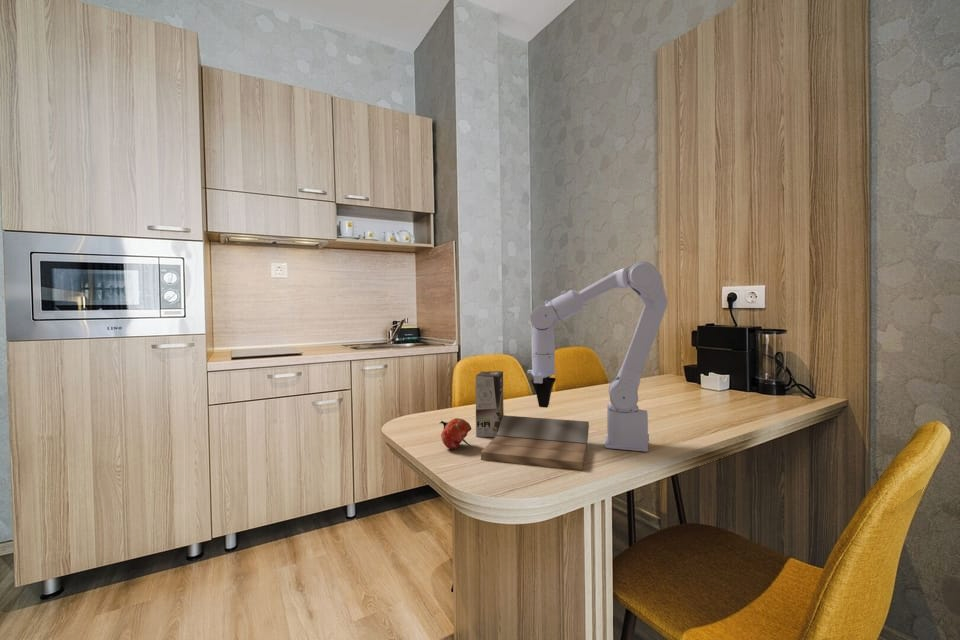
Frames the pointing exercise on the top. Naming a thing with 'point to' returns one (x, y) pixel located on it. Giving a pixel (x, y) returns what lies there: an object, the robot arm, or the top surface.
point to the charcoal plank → (544, 429)
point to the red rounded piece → (455, 432)
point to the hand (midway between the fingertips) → (543, 406)
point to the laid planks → (536, 452)
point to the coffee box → (489, 403)
